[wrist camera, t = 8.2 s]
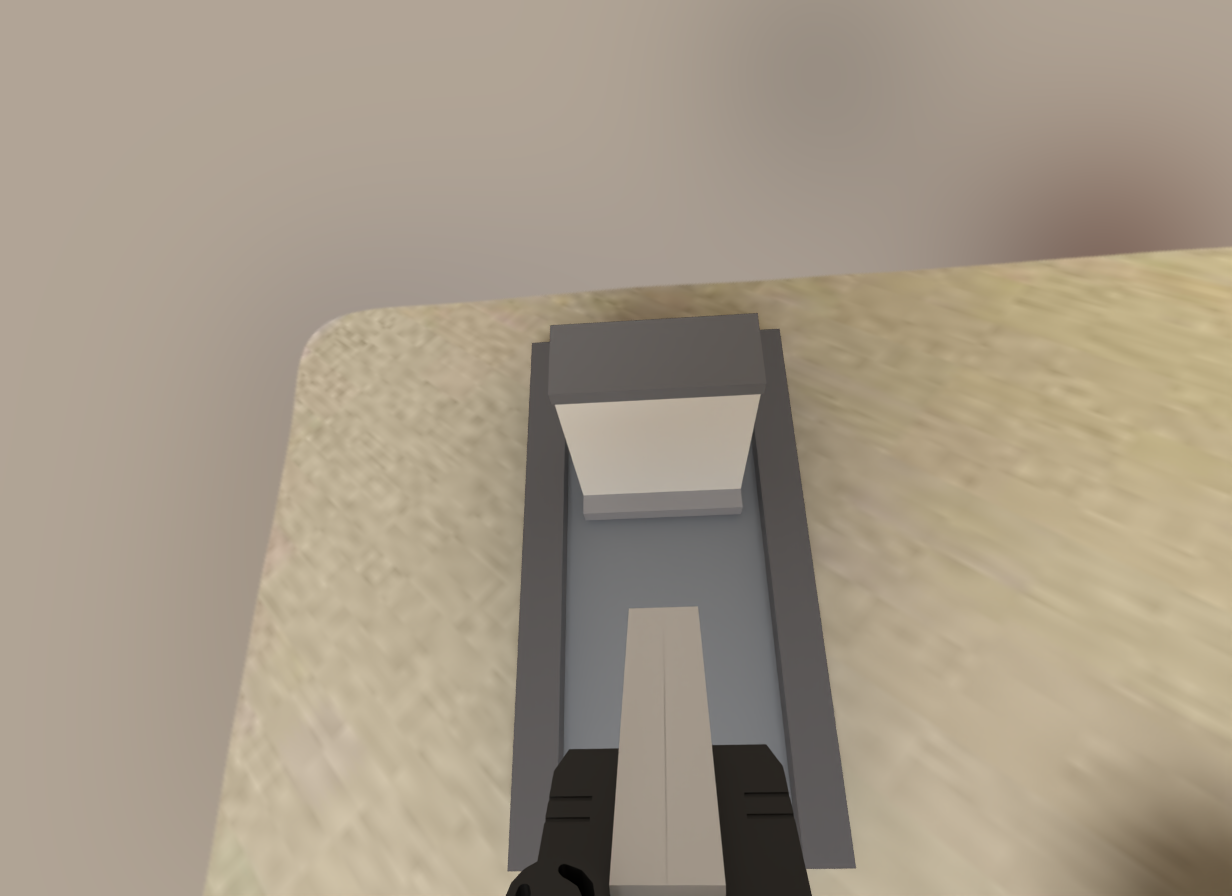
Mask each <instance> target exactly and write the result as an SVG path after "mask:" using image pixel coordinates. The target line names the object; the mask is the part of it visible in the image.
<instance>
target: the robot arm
mask: <svg viewBox="0 0 1232 896" xmlns="http://www.w3.org/2000/svg"><path fill="white" fill-rule="evenodd" d="M506 896H812V894H811V889H810V885H809V880H808V876H807V871H806V867H805V862H804V858H803V853H802V849H801V844H800V840H799V836H798V831H797V827H796V822H795V819H794V813H793V809H792V804H791V800H790V797H789V791H788V786H787V782H786V777H785V773H784V768H783V765H782V764H781V763H780V762H779V760H778V759H777V758H776V756H775V755H774V754H773V752H772V751H771V750H770V748H769V747H768V746H767V745H766V744H747V745H712V742H711V732H710V722H709V712H708V702H707V692H706V682H705V672H704V662H703V652H702V642H701V632H700V621H699V611H698V606H695V607H663V608H630V609H629V615H628V629H627V643H626V657H625V671H624V685H623V699H622V713H621V727H620V741H619V748H608V749H569V750H568V751H567V753H566V754H565V756H564V757H563V759H562V760H561V762H560V763H559V764H558V766H557V767H556V769H555V770H554V773H553V778H552V784H551V789H550V795H549V801H548V806H547V811H546V816H545V823H544V827H543V833H542V838H541V844H540V849H539V855H538V860H537V862H535V863H534V864H532V865H530V866H528V867H526V868H525V869H524V870H523V871H522V872H521V873H520V874H519V875H518V876H517V877H516V878H515V879H514V880H513V882H512V883H511V885H510V887H509V890H508V892H507V894H506Z"/></svg>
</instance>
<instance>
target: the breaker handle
mask: <svg viewBox="0 0 1232 896" xmlns="http://www.w3.org/2000/svg"><path fill="white" fill-rule="evenodd" d="M765 388H766V376H765V368H764V360H763V352H762V344H761V336H760V328H759V320H758V313H752V314H735V315H718V316H701V317H685V318H668V319H651V320H634V321H617V322H600V323H583V324H566V325H550V352H549V382H548V396H549V399H550V402H551V405H555V407H556V410H557V413H558V417H559V420H560V423H561V426H562V429H563V432H564V435H565V439H566V442H567V445H568V448H569V451H570V454H571V457H572V461H573V464H574V467H575V470H576V473H577V476H578V480H579V483H580V486H581V489H582V492H583V495H584V503H583V514H584V517H585V520H611V519H635V518H660V517H684V516H709V515H734V514H741V512H742V508H743V506H742V496H741V485H742V480H743V476H744V471H745V466H746V461H747V457H748V452H749V447H750V442H751V438H752V433H753V428H754V423H755V419H756V414H757V409H758V404H759V400H760V395H761V394H764V392H765Z"/></svg>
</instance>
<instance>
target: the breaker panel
mask: <svg viewBox="0 0 1232 896" xmlns="http://www.w3.org/2000/svg"><path fill="white" fill-rule="evenodd" d="M760 336H761V344H762V352H763V360H764V368H765V376H766V388H765V392H764V394H761V395H760V400H759V404H758V409H757V414H756V419H755V423H754V428H753V433H752V438H751V442H750V447H749V452H748V457H747V461H746V466H745V471H744V476H743V480H742V485H741V496H742V506H743V508H742V512H741V514H734V515H709V516H684V517H660V518H635V519H611V520H585V517H584V514H583V503H584V495H583V492H582V489H581V486H580V483H579V480H578V476H577V473H576V470H575V467H574V464H573V461H572V457H571V454H570V451H569V448H568V445H567V442H566V439H565V435H564V432H563V429H562V426H561V423H560V420H559V417H558V413H557V410H556V407H555V405H551V402H550V399H549V396H548V382H549V352H550V342H540V343H532V356H531V378H530V399H529V421H528V442H527V464H526V485H525V507H524V529H523V550H522V572H521V593H520V615H519V636H518V658H517V679H516V701H515V722H514V744H513V765H512V787H511V808H510V830H509V852H508V871H523V870H524V869H525V868H526V867H528V866H530V865H532V864H534V863H535V862H537V860H538V855H539V849H540V844H541V838H542V833H543V827H544V823H545V816H546V811H547V806H548V801H549V795H550V789H551V784H552V778H553V773H554V770H555V769H556V767H557V766H558V764H559V763H560V762H561V760H562V759H563V757H564V756H565V754H566V753H567V751H568V750H569V749H608V748H619V741H620V727H621V713H622V699H623V685H624V671H625V657H626V643H627V629H628V615H629V609H630V608H663V607H695V606H698V611H699V621H700V632H701V642H702V652H703V662H704V672H705V682H706V692H707V702H708V712H709V722H710V732H711V742H712V745H747V744H766V745H767V746H768V747H769V748H770V750H771V751H772V752H773V754H774V755H775V756H776V758H777V759H778V760H779V762H780V763H781V764H782V765H783V768H784V773H785V777H786V782H787V786H788V791H789V797H790V800H791V804H792V809H793V813H794V819H795V822H796V827H797V831H798V836H799V840H800V844H801V849H802V853H803V858H804V862H805V867H806V869H841V868H856V865H855V858H854V851H853V844H852V837H851V829H850V822H849V815H848V808H847V801H846V794H845V787H844V780H843V773H842V766H841V759H840V752H839V745H838V738H837V731H836V724H835V717H834V710H833V703H832V696H831V689H830V682H829V675H828V667H827V660H826V653H825V646H824V639H823V632H822V625H821V618H820V611H819V604H818V597H817V590H816V583H815V576H814V569H813V562H812V555H811V548H810V541H809V534H808V527H807V520H806V512H805V505H804V498H803V491H802V484H801V477H800V470H799V463H798V456H797V449H796V442H795V435H794V428H793V421H792V414H791V407H790V400H789V393H788V386H787V379H786V372H785V365H784V358H783V350H782V343H781V336H780V329H767V330H760Z"/></svg>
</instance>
